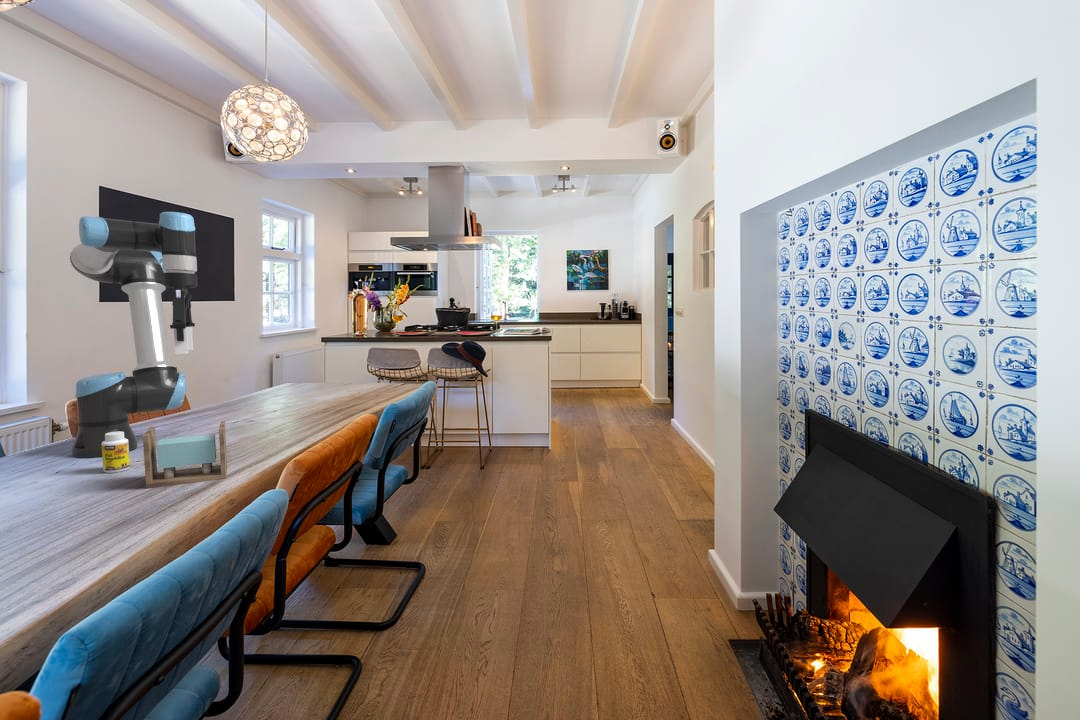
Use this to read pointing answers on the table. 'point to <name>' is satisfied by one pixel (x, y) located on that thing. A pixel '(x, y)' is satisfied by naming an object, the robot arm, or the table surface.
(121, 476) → the table surface
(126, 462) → the supplement bottle
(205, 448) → the shelf board
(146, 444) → the peg bracket
